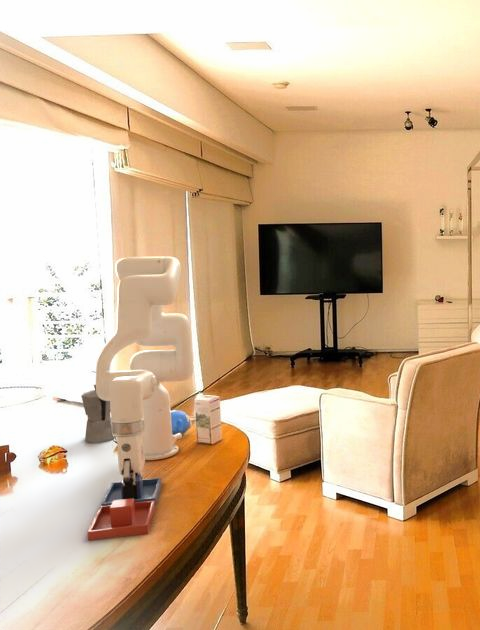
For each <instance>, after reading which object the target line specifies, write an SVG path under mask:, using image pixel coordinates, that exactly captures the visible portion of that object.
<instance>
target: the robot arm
mask: <svg viewBox="0 0 480 630" xmlns="http://www.w3.org/2000/svg"><path fill="white" fill-rule="evenodd" d="M114 266H115V273H116V276H117V278H118V280H119V282H118V285H117V298H116V299H117V301H116V302H117V303H116V305H117V306H116V330H115V333H114V334H113V335H112V336H111V338H109V339H108V340H107V341H106V343H105V344H104V345H103V347H102V349H100V352H99V354H98V357H97V360H96V367H95V385H96V392H97V395H98V397H99V398H100V399H102V400H105V401H110V409H111V412H110V417H111V424H112V435H114V436H115V437H116V446H117V461H118V462H117V463H118V472H119V475H120V476H122V479H123V498H124V499H132V498H134V500H135V499H138V493H137V484H136V476H137V475H142V474H141V473H142V471H143V468H144V466H145V464H146V461H157V460H163V459H167V458H170V457H174V456H175V455H176V454H178V453H179V446H178V445H176V444H175V443H176V442H177V441H179V440H181V439H183V435H182V434H181V433H178V434H175V435H172V423H171V411H172V409H171V395H170V393H169V391H168V390H167V388H166V387H165V386H164V385H163V384H162V383H170V382H184V381H188V380H189V379H191V378H192V376H193V373H194V355H193V354H194V353H193V339H192V329H191V328H192V327H191V322H190V319H189V318H188V317H187V315H185V313H184V314H183V313H181V312H180V313H179V312H173V313H172V312H171V313H165V312H164V306H170V305H172V304H174V302H175V301H176V299H177V296H178V291H179V286H180V283H181V279H182V265H181V263H180V261H179V259H177V258H176V257H174V256H167V255H165V256H163V255H162V256H127V257H123V258H120V259H118V260H117V261H116V263H115V265H114ZM135 343H136V344H137V345H139V346H140V347H141V346H142V347H164V346H165V347H166V346H167V347H168V346H172V347H174V348H175V349H152V350H151V349H150V350H148V349H147V350H142V351H139V352H136V353H134V354H133V355H132V356H131V358H130V361H129V368H130V370H118V371H116V370H113V371H111V363H112V361H113V359H114V358H115V356H116V355H117V354H118V353H119V352H120V351H122V350H123V349H125V348H127V347H128V346H131V345H133V344H135ZM130 476H133V479H132V478H130Z"/></svg>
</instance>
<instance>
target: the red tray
mask: <svg viewBox="0 0 480 630" xmlns="http://www.w3.org/2000/svg"><path fill="white" fill-rule="evenodd" d="M134 506H135V518H134V521H133V524H131V525H122V526H113V527H111V517H110V507H111V505H107V506H101V505H100V506H99V508H98V510H97V512H96V514H95V516H94V518H93V520H92V522H91V524H90V526H89V528H88V530H87V540H88V541H95V540H104V539H112V538H119V537H129V536H137V535H147V534H148V533H149V531H150V527H151V524H152V520H153V516H154V513H155V510H156V506H155V500H154V501H144V502H135V503H134Z"/></svg>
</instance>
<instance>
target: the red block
mask: <svg viewBox="0 0 480 630" xmlns="http://www.w3.org/2000/svg"><path fill="white" fill-rule="evenodd" d="M110 517H111V527H113V526H122V525H131V524H133V521H134V518H135V506H134V498H132V499H122V500H113V502H112V505H111V507H110Z"/></svg>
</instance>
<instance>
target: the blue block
mask: <svg viewBox="0 0 480 630" xmlns="http://www.w3.org/2000/svg"><path fill="white" fill-rule="evenodd" d="M130 478H132V479H133V476H130ZM143 479H144V478H143V474H141V475H137V476H136V484H137V493H138V499H139V498H141V497H142V494H143V492H144V491H143ZM120 482H121V494H122V499H124V498H123V478H122V480H121V481H120Z"/></svg>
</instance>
